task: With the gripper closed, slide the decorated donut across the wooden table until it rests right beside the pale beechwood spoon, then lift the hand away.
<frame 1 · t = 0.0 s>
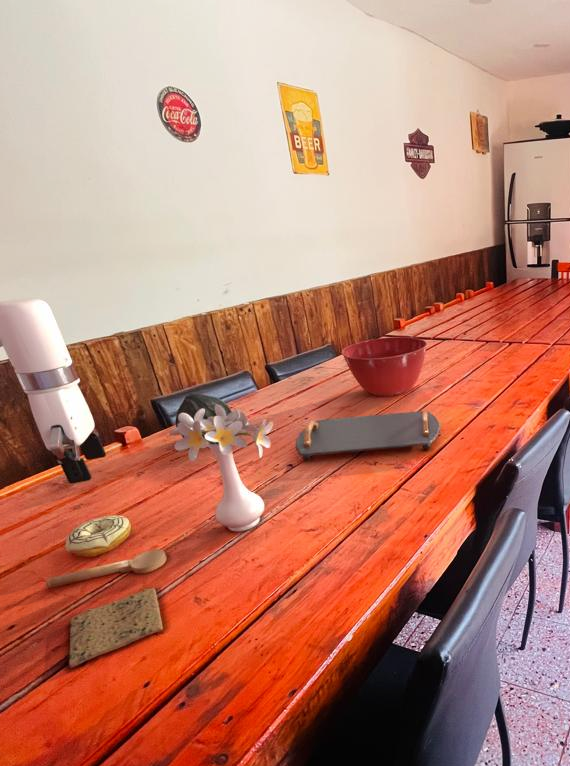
hand: (89, 469, 91), 18 cm above the table, tool pointing down, fingers open, 9 cm apart
serving tray: (370, 440, 140), on the table
decorated donut: (103, 543, 102), on the table
squash: (211, 439, 147), on the table
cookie: (117, 626, 81), on the table
spoon: (112, 572, 93), on the table
mixing bowl: (390, 390, 178), on the table
flower vase: (248, 522, 106), on the table
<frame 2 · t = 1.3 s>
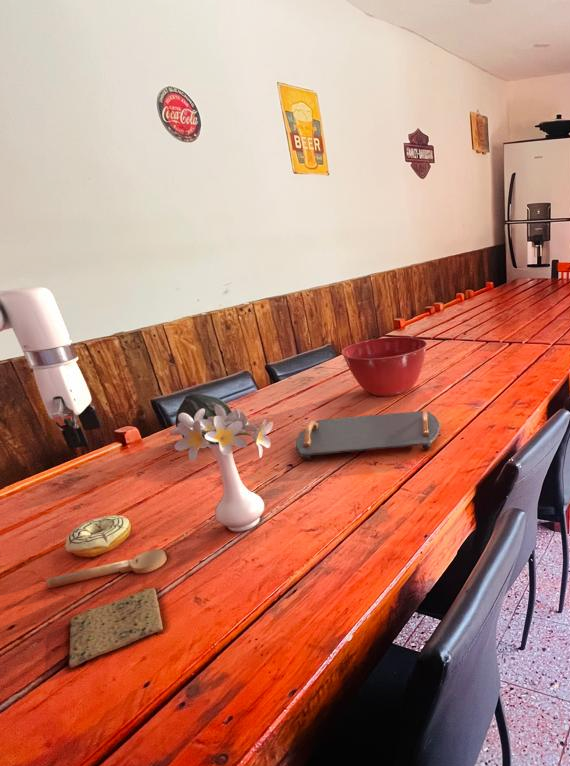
hand: (86, 437, 104), 18 cm above the table, tool pointing down, fingers open, 9 cm apart
nothing on the table moved.
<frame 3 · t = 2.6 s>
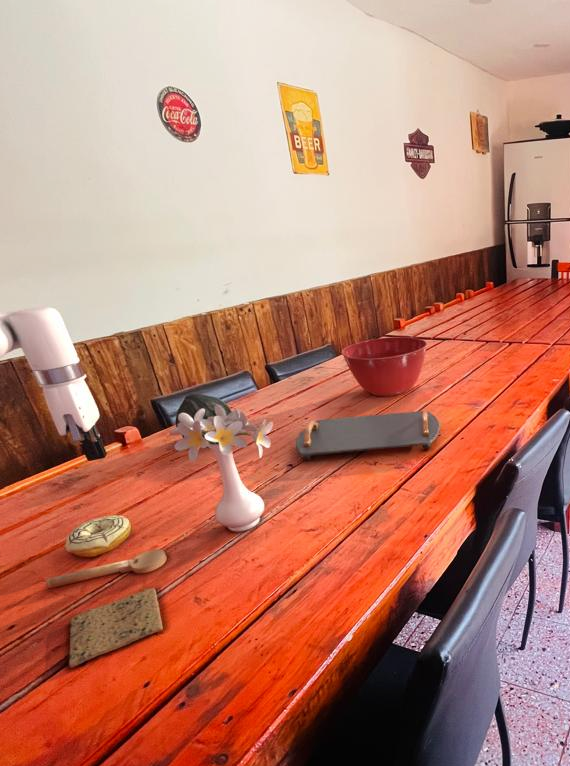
hand: (97, 457, 107), 13 cm above the table, tool pointing down, fingers closed
nothing on the table moved.
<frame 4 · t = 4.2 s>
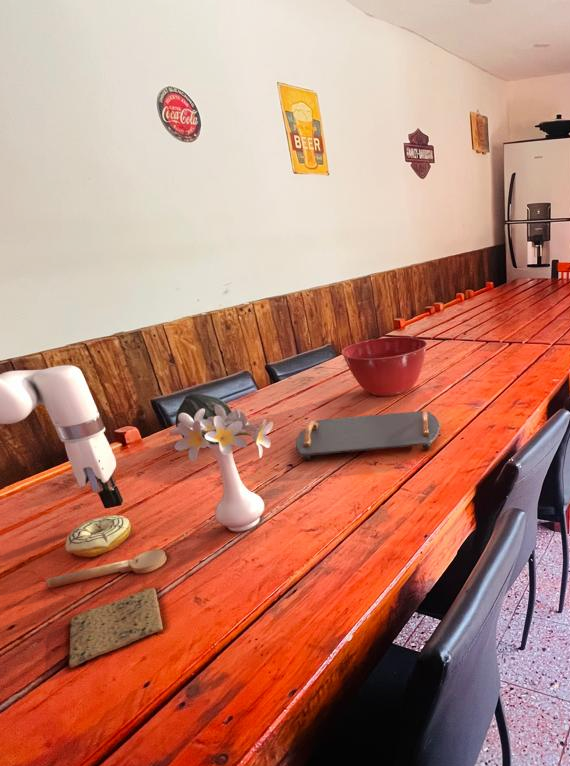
hand: (114, 505, 110), 2 cm above the table, tool pointing down, fingers closed
nothing on the table moved.
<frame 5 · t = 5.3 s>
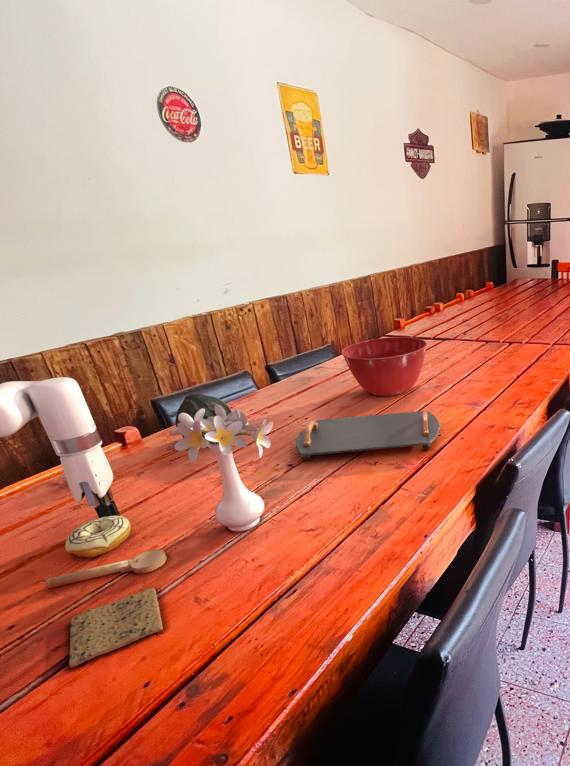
hand: (111, 519, 108), 1 cm above the table, tool pointing down, fingers closed
decorated donut: (103, 544, 102), on the table, touching gripper
everything else where it was.
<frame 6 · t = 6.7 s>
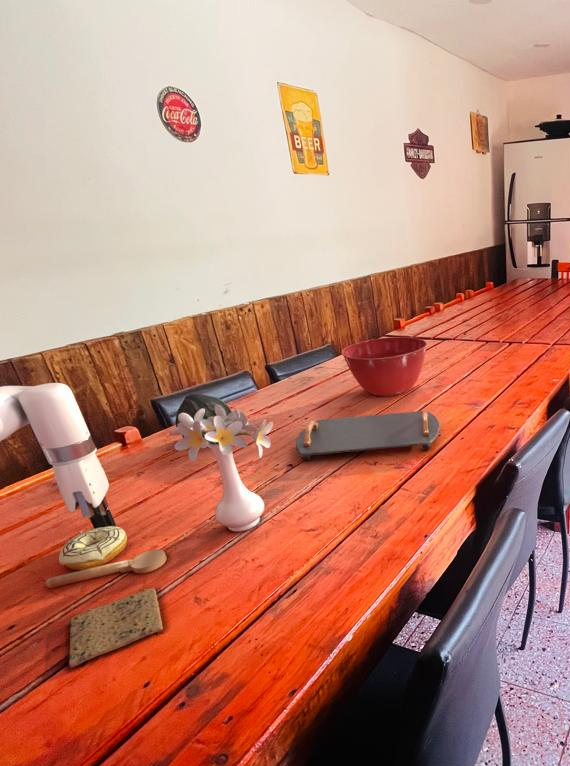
hand: (106, 529, 104), 1 cm above the table, tool pointing down, fingers closed
decorated donut: (98, 556, 98), on the table, touching gripper
everything else where it was.
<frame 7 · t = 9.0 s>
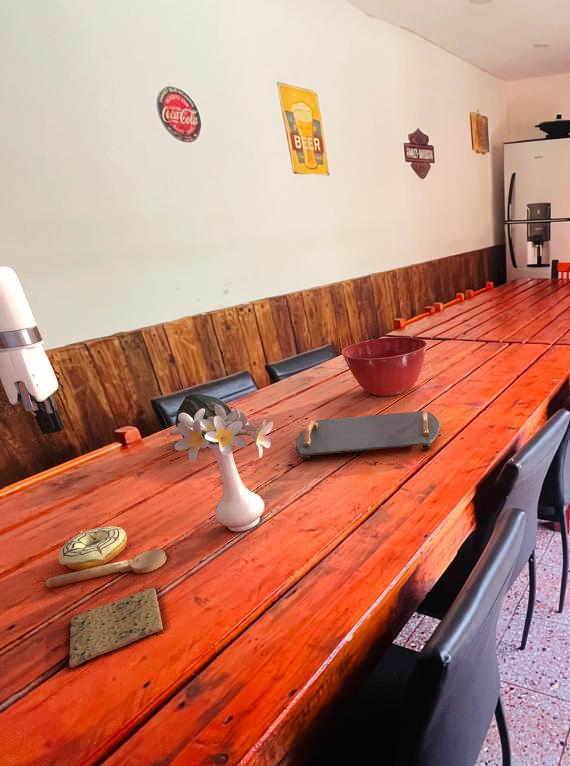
hand: (53, 431, 100), 21 cm above the table, tool pointing down, fingers closed
decorated donut: (98, 556, 98), on the table
everything else where it was.
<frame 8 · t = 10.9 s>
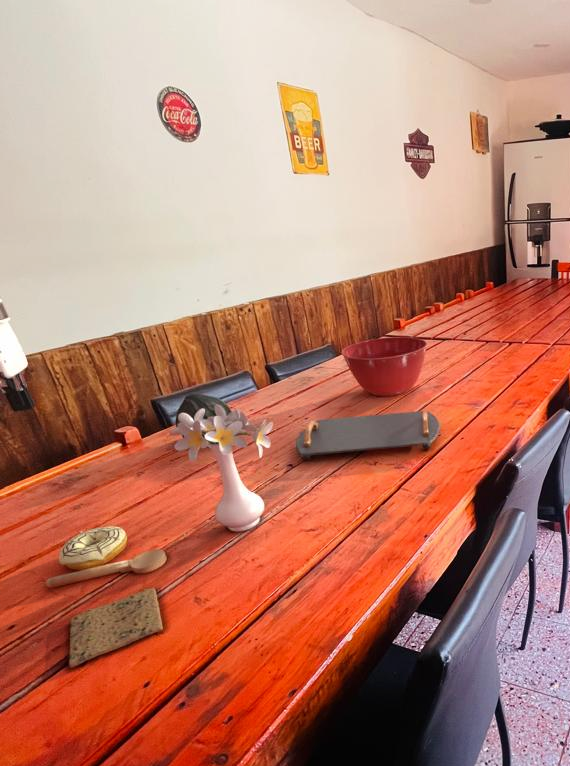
hand: (24, 408, 101), 25 cm above the table, tool pointing down, fingers closed
nothing on the table moved.
at the end: decorated donut inside the target area on the table beside the spoon (1.1 cm from its centre), on the table; decorated donut 8.4 cm from the spoon (horizontally); spoon moved 0.0 cm from its start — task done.
